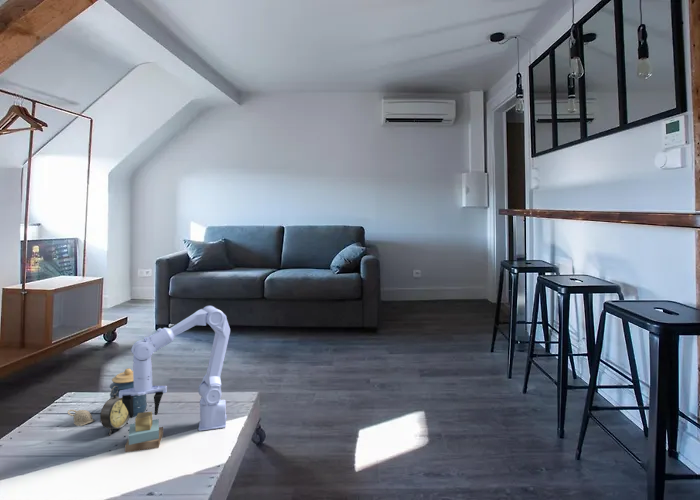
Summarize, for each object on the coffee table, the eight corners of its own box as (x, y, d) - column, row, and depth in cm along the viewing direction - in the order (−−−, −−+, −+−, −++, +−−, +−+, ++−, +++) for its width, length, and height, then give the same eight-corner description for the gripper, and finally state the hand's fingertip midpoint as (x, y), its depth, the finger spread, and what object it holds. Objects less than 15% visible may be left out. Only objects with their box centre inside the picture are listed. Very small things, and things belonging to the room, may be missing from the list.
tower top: (158, 427, 146) (158, 419, 145) (159, 438, 137) (158, 430, 137) (130, 432, 142) (130, 424, 141) (128, 444, 134) (128, 436, 133)
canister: (145, 402, 172) (144, 361, 172) (148, 414, 161) (147, 370, 160) (110, 409, 166) (108, 366, 165) (110, 422, 155) (109, 376, 154)
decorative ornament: (88, 426, 152) (87, 412, 152) (66, 425, 152) (65, 411, 152) (95, 420, 156) (94, 407, 156) (73, 420, 156) (73, 407, 156)
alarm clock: (110, 437, 143) (109, 392, 142) (97, 436, 144) (96, 391, 143) (133, 423, 154) (132, 381, 153) (120, 422, 155) (119, 380, 154)
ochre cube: (152, 423, 142) (152, 411, 141) (150, 429, 137) (149, 417, 137) (138, 425, 140) (138, 413, 140) (135, 431, 136) (135, 418, 136)
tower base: (163, 435, 146) (163, 426, 146) (158, 449, 136) (158, 440, 136) (132, 439, 143) (132, 430, 143) (125, 454, 134) (125, 445, 133)
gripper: (115, 382, 133) (117, 423, 133) (164, 377, 137) (165, 417, 137) (121, 375, 139) (122, 414, 140) (167, 371, 143) (168, 408, 144)
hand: (144, 415), depth 139 cm, fingers open, 7 cm apart
